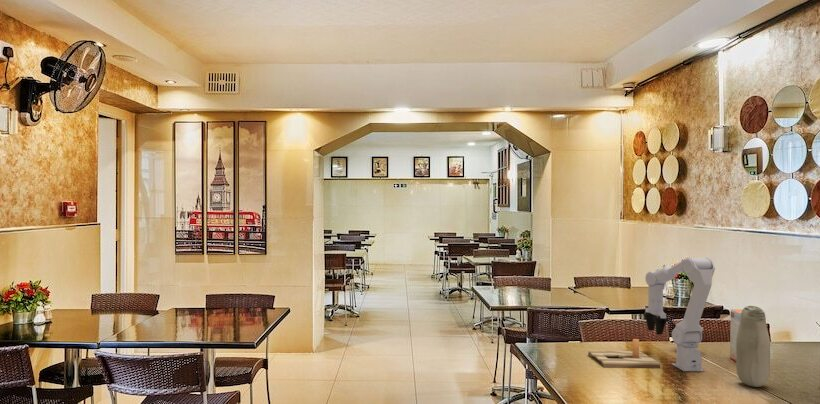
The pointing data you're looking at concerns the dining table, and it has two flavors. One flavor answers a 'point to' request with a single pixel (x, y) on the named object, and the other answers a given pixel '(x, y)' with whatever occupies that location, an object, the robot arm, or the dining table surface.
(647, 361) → the keyhole board
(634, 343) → the keyhole peg
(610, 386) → the dining table surface
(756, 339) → the grey bottle
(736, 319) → the cracker box
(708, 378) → the dining table surface
